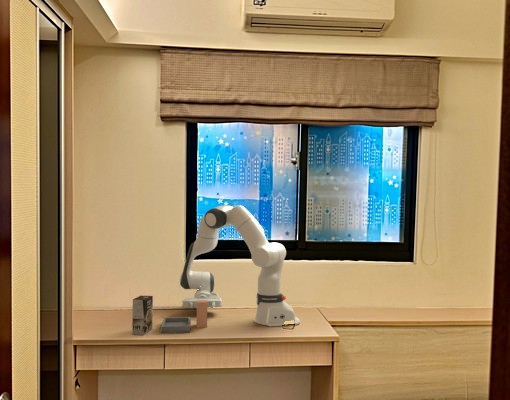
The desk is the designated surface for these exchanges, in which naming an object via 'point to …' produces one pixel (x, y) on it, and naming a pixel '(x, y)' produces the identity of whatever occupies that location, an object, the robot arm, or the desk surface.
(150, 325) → the coffee box
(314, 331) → the desk surface
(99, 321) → the desk surface
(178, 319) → the tray
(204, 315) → the block
